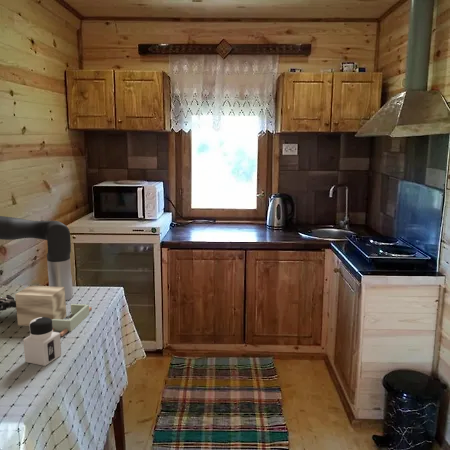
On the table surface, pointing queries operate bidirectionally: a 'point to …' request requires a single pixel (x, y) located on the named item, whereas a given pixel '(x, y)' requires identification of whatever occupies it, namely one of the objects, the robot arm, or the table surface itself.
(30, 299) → the ash block
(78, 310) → the grey-green piece
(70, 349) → the table surface
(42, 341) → the container
